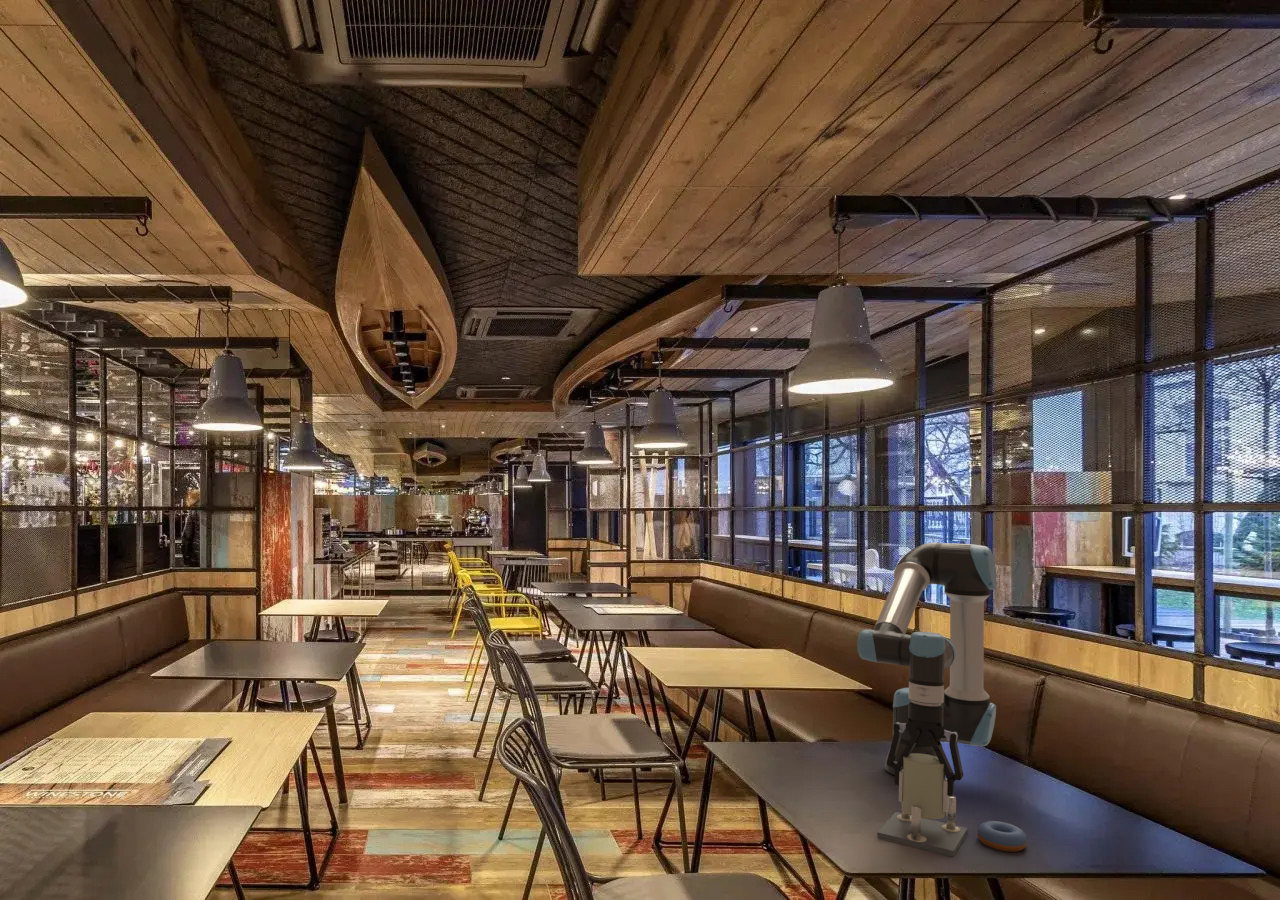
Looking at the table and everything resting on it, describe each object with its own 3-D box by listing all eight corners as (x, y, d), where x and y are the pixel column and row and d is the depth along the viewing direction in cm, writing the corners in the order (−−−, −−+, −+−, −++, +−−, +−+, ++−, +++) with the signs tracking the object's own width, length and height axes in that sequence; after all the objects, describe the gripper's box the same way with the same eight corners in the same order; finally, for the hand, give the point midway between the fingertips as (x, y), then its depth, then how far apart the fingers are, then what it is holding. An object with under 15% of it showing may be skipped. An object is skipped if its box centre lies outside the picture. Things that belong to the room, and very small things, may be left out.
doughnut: (998, 854, 174) (999, 831, 175) (967, 838, 184) (968, 817, 185) (1036, 856, 177) (1037, 833, 178) (1004, 840, 186) (1005, 819, 187)
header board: (895, 817, 194) (895, 810, 194) (967, 833, 186) (967, 827, 186) (877, 837, 181) (877, 831, 181) (953, 856, 172) (953, 849, 172)
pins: (902, 816, 191) (903, 785, 192) (956, 828, 185) (956, 796, 186) (886, 834, 180) (887, 801, 180) (943, 848, 173) (944, 814, 174)
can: (948, 821, 178) (949, 765, 179) (904, 816, 180) (905, 760, 181) (941, 807, 187) (942, 753, 188) (899, 802, 189) (900, 749, 190)
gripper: (873, 697, 188) (870, 798, 186) (973, 713, 177) (971, 821, 175) (882, 692, 194) (879, 790, 192) (979, 707, 183) (977, 811, 181)
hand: (923, 805), depth 184 cm, fingers closed on can, 9 cm apart
